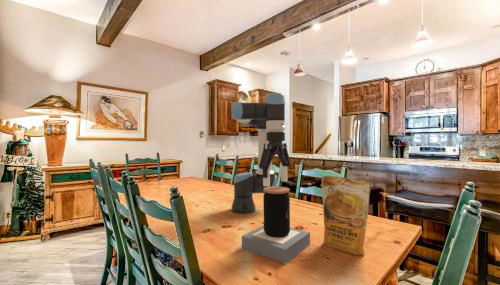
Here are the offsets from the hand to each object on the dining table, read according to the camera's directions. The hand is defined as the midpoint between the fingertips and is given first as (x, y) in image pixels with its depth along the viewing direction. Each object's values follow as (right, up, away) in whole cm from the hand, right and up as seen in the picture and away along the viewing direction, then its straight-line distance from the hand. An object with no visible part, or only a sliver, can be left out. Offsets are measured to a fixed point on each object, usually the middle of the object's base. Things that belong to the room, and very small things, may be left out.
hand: (275, 183), depth 97 cm
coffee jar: (0, -20, 0) cm, 20 cm away
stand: (0, -25, -1) cm, 25 cm away
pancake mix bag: (+27, -26, -2) cm, 37 cm away
